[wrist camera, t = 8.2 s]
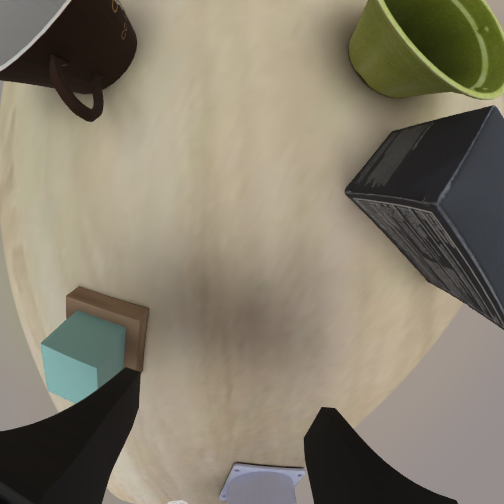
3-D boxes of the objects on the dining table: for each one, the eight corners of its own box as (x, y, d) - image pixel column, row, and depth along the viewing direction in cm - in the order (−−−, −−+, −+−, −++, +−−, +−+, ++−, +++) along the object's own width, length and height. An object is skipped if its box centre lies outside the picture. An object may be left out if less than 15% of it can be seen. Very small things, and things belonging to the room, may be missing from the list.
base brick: (142, 371, 22) (135, 385, 20) (79, 348, 21) (69, 360, 19) (148, 308, 20) (140, 321, 18) (78, 286, 20) (66, 295, 18)
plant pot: (427, 28, 15) (489, -12, 7) (442, 130, 17) (524, 119, 9) (321, 0, 15) (356, -70, 7) (329, 111, 17) (387, 68, 9)
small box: (471, 223, 19) (566, 254, 9) (428, 284, 20) (515, 346, 10) (394, 125, 17) (500, 98, 7) (340, 192, 19) (433, 211, 8)
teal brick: (123, 370, 19) (99, 413, 14) (78, 353, 19) (48, 390, 14) (126, 327, 18) (96, 368, 14) (77, 309, 18) (40, 343, 13)
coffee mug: (59, 30, 14) (-12, -15, 5) (154, -2, 15) (109, -82, 5) (50, 158, 17) (-50, 159, 8) (152, 135, 17) (69, 102, 8)
